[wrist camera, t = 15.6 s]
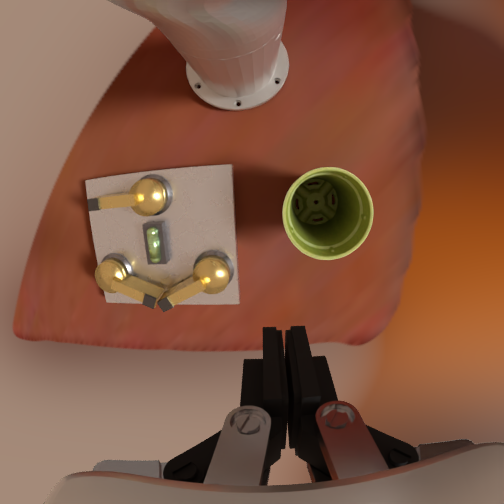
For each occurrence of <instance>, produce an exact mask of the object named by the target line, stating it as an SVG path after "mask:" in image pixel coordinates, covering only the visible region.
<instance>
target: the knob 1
mask: <svg viewBox="0 0 504 504" xmlns="http://www.w3.org/2000/svg"><path fill="white" fill-rule="evenodd" d="M95 279H96V282H97V284H98V285H99V287H100V288H101V289H102V290H104V291H105V292H108V293H116V292H119V293H121V294H124V295H126V296H128V297H130V298H133V299H135V300H137V301H140V302H142V304H143V305H145V306H147V307H150V308H152V309H154V308H155V307H156V306H157V302H158V300H159V299H160V297H161V296H162V294H163V292H164V288H161V287H159V286H156V285H154V284H151V283H149V282H146V281H144V280H142V279H139V278H137V277H135V276H132V275H130V274H129V273H128V270H127V267H126V266H125V264H124V263H123V262H122V261H121V260H119V259H117V258H108V259H106V260H105V261H103V262H102V263H101V264H99V265H98V266H97V268H96V270H95Z"/></svg>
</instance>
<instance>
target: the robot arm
mask: <svg viewBox="0 0 504 504" xmlns="http://www.w3.org/2000/svg"><path fill="white" fill-rule="evenodd" d="M108 1H110V2H112V3H114V4H116V5H118V6H120V7H122V8H124V9H126V10H128V11H131V12H133V13H135V14H137V15H140V16H142V17H144V18H146V19H147V20H149V21H150V22H152V23H153V24H154V25H155V26H156V27H157V28H158V29H159V30H160V31H161V32H162V33H163V34H164V35H165V36H166V37H167V39H168V40H169V41H170V42H171V43H172V45H173V46H174V47H175V48H176V50H177V51H178V52H179V53H180V54H181V56H182V57H183V58H184V59H185V60H186V74H187V78H188V81H189V84H190V86H191V87H192V89H193V90H194V92H195V93H196V94H197V95H198V96H199V97H200V98H201V99H202V100H204V101H205V102H207V103H208V104H210V105H212V106H214V107H217V108H220V109H224V110H231V111H241V110H247V109H252V108H255V107H257V106H260V105H262V104H264V103H265V102H267V101H269V100H270V99H271V98H272V97H274V96H275V95H276V94H277V93H278V91H279V90H280V89H281V88H282V86H283V84H284V82H285V80H286V77H287V74H288V68H289V60H288V55H287V51H286V48H285V47H284V45H283V43H282V41H281V36H282V31H283V25H284V20H285V13H286V7H287V0H108ZM275 81H278V82H279V84H276V83H275ZM198 86H201V88H200V89H198ZM237 103H241V105H240V106H237ZM287 423H288V435H289V447H290V449H292V448H295V455H296V456H298V457H299V458H301V459H302V460H304V461H306V462H307V469H308V472H309V475H310V479H311V482H312V483H306V484H293V485H273V486H267V485H268V480H269V474H270V466H271V465H273V464H274V463H275V462H276V461H278V460H279V459H280V456H281V449H285V445H286V433H287ZM44 504H504V443H502V442H487V443H478V444H474V443H473V442H472V441H470V440H467V439H459V440H453V441H445V442H438V443H427V444H419V445H418V447H413V446H411V445H410V444H408V443H405V442H403V441H401V440H398V439H396V438H394V437H391V436H389V435H387V434H385V433H382V432H380V431H378V430H376V429H374V428H372V427H369V426H367V425H365V423H364V421H363V419H362V418H361V416H360V414H359V412H358V411H357V409H356V408H355V407H354V406H353V405H351V404H349V403H347V402H344V401H338V399H337V395H336V392H335V388H334V384H333V381H332V377H331V374H330V371H329V367H328V363H327V360H326V357H325V356H314V357H312V355H311V351H310V346H309V342H308V338H307V334H306V329H305V326H291V329H290V330H286V333H285V356H284V347H283V338H282V330H276V327H263V359H244V364H243V376H242V389H241V402H240V407H238V408H236V409H234V410H232V411H231V412H230V413H229V414H228V415H227V417H226V419H225V422H224V425H223V428H222V430H221V431H219V432H218V433H216V434H214V435H213V436H211V437H209V438H208V439H206V440H204V441H203V442H201V443H200V444H198V445H196V446H194V447H193V448H191V449H189V450H187V451H186V452H184V453H182V454H180V455H178V456H176V457H175V458H173V459H172V460H170V461H169V462H168V463H160V462H159V460H158V461H157V460H155V461H126V460H125V461H123V460H104V461H101V462H99V463H97V465H95V466H94V468H93V471H86V472H79V473H74V474H70V475H68V476H65V477H64V478H62V479H61V480H60V481H59V482H58V483H57V484H56V485H55V486H54V488H53V489H52V491H51V492H50V494H49V495H48V497H47V499H46V500H45V502H44Z"/></svg>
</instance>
